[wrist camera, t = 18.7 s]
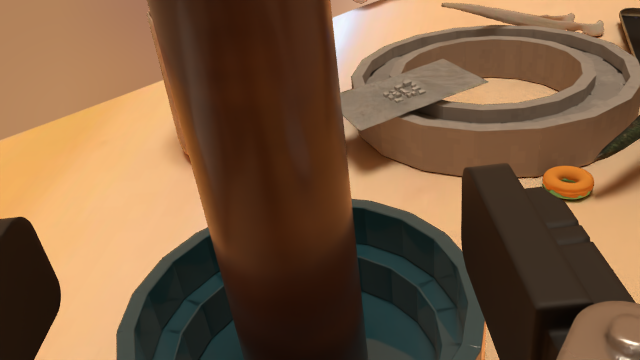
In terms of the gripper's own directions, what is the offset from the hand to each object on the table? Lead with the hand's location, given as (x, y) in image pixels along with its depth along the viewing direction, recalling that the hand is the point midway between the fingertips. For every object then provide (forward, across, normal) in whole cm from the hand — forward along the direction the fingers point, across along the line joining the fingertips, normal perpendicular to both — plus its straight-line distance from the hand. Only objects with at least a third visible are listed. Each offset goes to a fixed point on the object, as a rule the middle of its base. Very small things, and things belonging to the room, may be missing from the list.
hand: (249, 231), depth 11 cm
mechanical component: (+28, -12, +12) cm, 33 cm away
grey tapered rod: (+38, -18, +7) cm, 42 cm away
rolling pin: (+6, 0, +11) cm, 13 cm away
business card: (+24, -6, +9) cm, 27 cm away
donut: (+18, -17, +11) cm, 27 cm away
